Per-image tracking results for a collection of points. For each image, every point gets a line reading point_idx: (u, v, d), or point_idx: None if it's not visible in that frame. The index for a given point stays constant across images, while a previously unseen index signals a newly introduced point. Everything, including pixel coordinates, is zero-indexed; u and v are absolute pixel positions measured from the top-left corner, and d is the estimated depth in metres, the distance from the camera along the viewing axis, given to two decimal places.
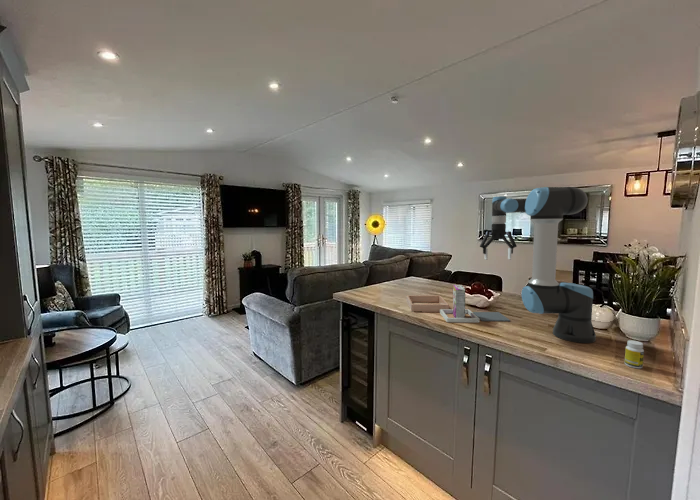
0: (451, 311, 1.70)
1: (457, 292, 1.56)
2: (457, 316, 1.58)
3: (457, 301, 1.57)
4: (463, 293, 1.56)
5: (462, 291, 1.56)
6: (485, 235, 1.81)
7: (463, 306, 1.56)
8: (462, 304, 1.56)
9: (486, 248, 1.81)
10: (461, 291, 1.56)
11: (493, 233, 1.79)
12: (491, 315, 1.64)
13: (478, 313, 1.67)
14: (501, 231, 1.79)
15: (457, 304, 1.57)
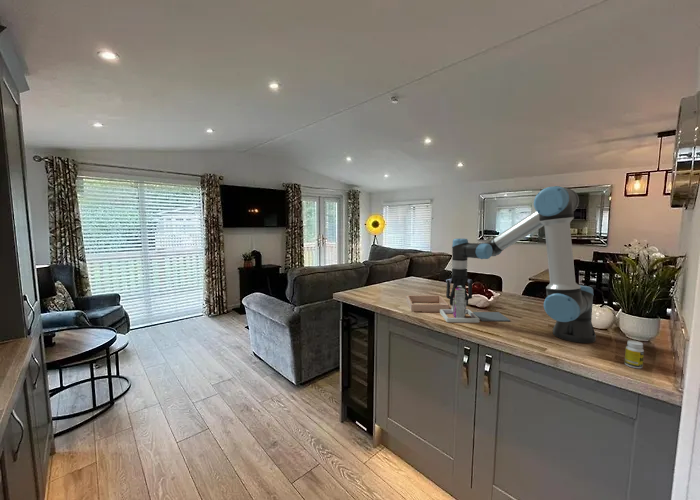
0: (451, 311, 1.70)
1: (457, 292, 1.56)
2: (457, 316, 1.58)
3: (457, 301, 1.57)
4: (463, 293, 1.56)
5: (462, 290, 1.56)
6: None
7: (463, 306, 1.56)
8: (462, 304, 1.56)
9: (453, 299, 1.62)
10: (461, 291, 1.56)
11: (453, 279, 1.60)
12: (491, 315, 1.64)
13: (478, 313, 1.67)
14: (463, 276, 1.60)
15: (457, 304, 1.57)
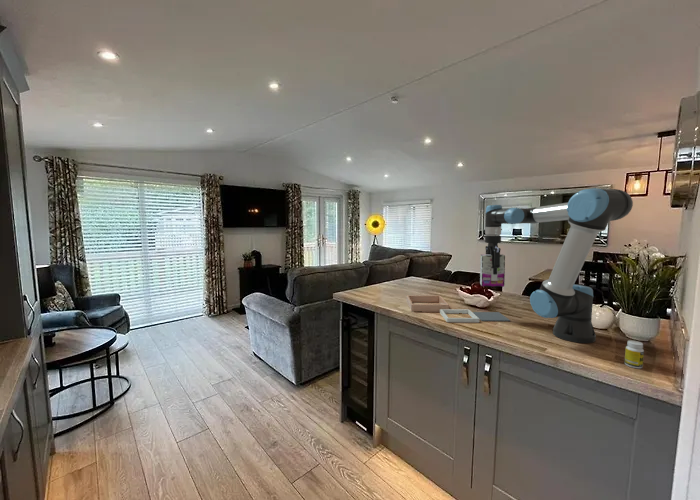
0: (451, 311, 1.70)
1: (480, 257, 1.62)
2: (480, 280, 1.63)
3: (480, 266, 1.63)
4: (481, 258, 1.59)
5: (481, 256, 1.60)
6: None
7: (481, 271, 1.60)
8: (481, 269, 1.60)
9: None
10: (481, 256, 1.61)
11: (488, 246, 1.62)
12: (491, 315, 1.64)
13: (478, 313, 1.67)
14: (492, 243, 1.57)
15: (480, 269, 1.63)
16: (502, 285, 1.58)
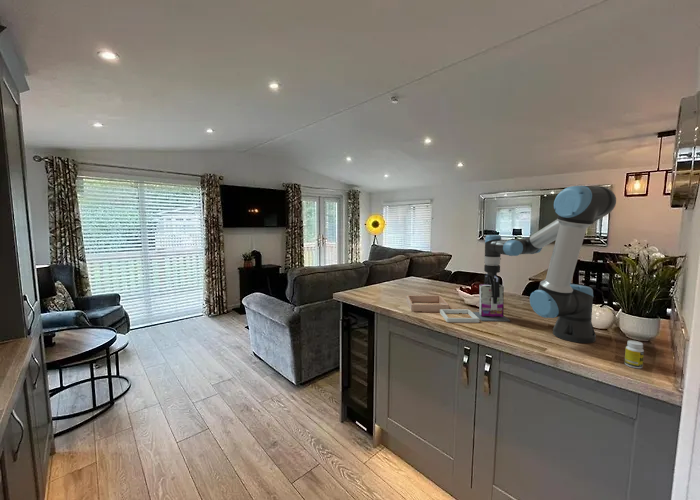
0: (451, 311, 1.70)
1: (479, 287, 1.64)
2: (479, 310, 1.65)
3: (479, 296, 1.65)
4: (480, 289, 1.62)
5: (480, 286, 1.62)
6: None
7: (480, 301, 1.62)
8: (480, 299, 1.62)
9: None
10: (480, 287, 1.63)
11: (487, 274, 1.64)
12: None
13: (478, 313, 1.67)
14: (491, 273, 1.59)
15: (479, 298, 1.65)
16: (501, 315, 1.59)
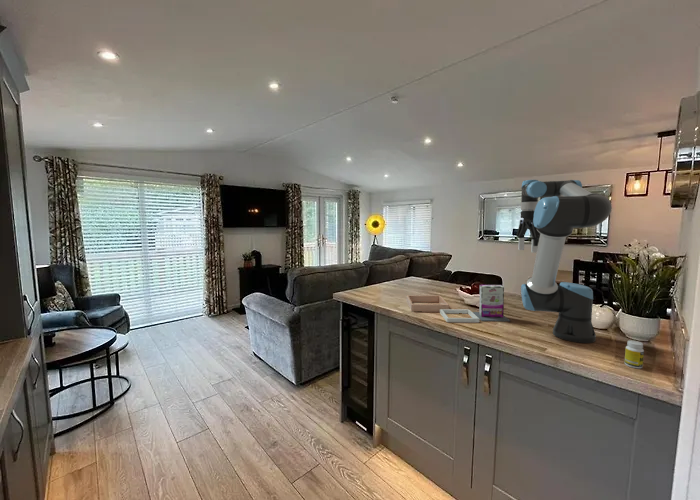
0: (451, 311, 1.70)
1: None
2: (479, 310, 1.65)
3: None
4: (481, 289, 1.61)
5: (480, 287, 1.61)
6: None
7: (480, 302, 1.62)
8: (480, 299, 1.62)
9: (521, 238, 1.67)
10: (480, 287, 1.62)
11: (523, 221, 1.63)
12: None
13: (478, 313, 1.67)
14: (527, 219, 1.59)
15: None
16: (501, 316, 1.59)
